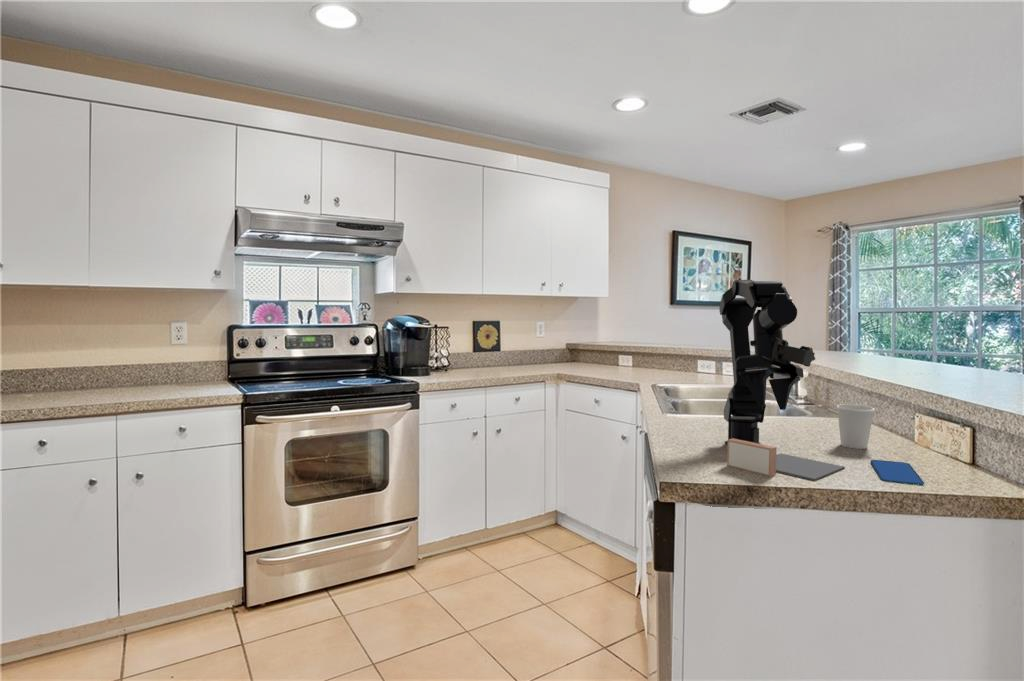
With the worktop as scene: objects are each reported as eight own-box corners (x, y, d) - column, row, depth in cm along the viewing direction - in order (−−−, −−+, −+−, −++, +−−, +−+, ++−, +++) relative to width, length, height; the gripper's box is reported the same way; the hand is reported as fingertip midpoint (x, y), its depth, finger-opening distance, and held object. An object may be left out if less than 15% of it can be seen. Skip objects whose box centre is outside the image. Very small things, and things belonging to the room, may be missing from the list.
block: (726, 466, 123) (727, 439, 123) (732, 464, 124) (732, 438, 124) (770, 477, 115) (771, 448, 115) (775, 475, 116) (776, 447, 116)
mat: (749, 465, 123) (749, 463, 123) (781, 454, 132) (781, 453, 132) (814, 480, 112) (814, 479, 112) (844, 468, 120) (844, 466, 120)
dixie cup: (829, 445, 140) (831, 406, 140) (841, 440, 146) (842, 402, 145) (867, 452, 134) (869, 411, 133) (878, 446, 140) (879, 406, 139)
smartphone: (881, 479, 112) (869, 459, 125) (881, 484, 112) (869, 463, 126) (925, 484, 109) (909, 462, 122) (925, 489, 109) (908, 467, 122)
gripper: (784, 322, 109) (790, 401, 106) (825, 338, 120) (831, 409, 117) (732, 331, 117) (735, 404, 114) (774, 344, 129) (779, 412, 126)
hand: (772, 407), depth 117 cm, fingers open, 9 cm apart
